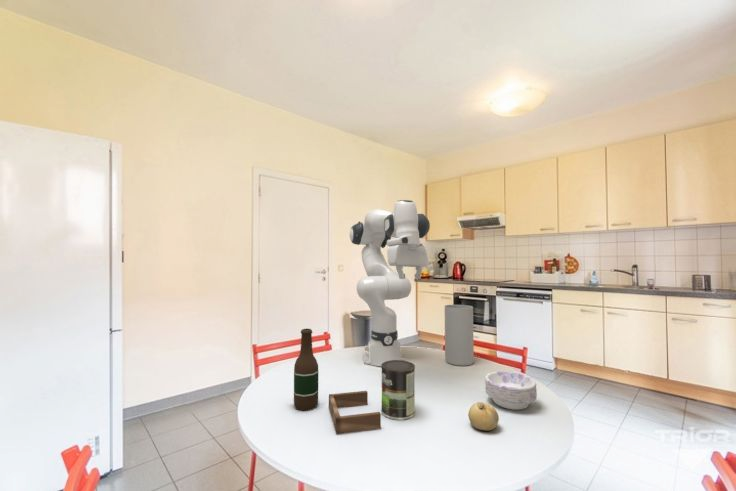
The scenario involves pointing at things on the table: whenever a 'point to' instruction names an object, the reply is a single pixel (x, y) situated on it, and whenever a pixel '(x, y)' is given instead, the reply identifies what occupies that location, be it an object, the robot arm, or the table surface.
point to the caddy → (352, 421)
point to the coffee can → (398, 389)
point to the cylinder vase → (459, 335)
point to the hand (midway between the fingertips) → (410, 278)
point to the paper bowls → (510, 389)
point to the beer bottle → (306, 375)
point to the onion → (483, 416)
